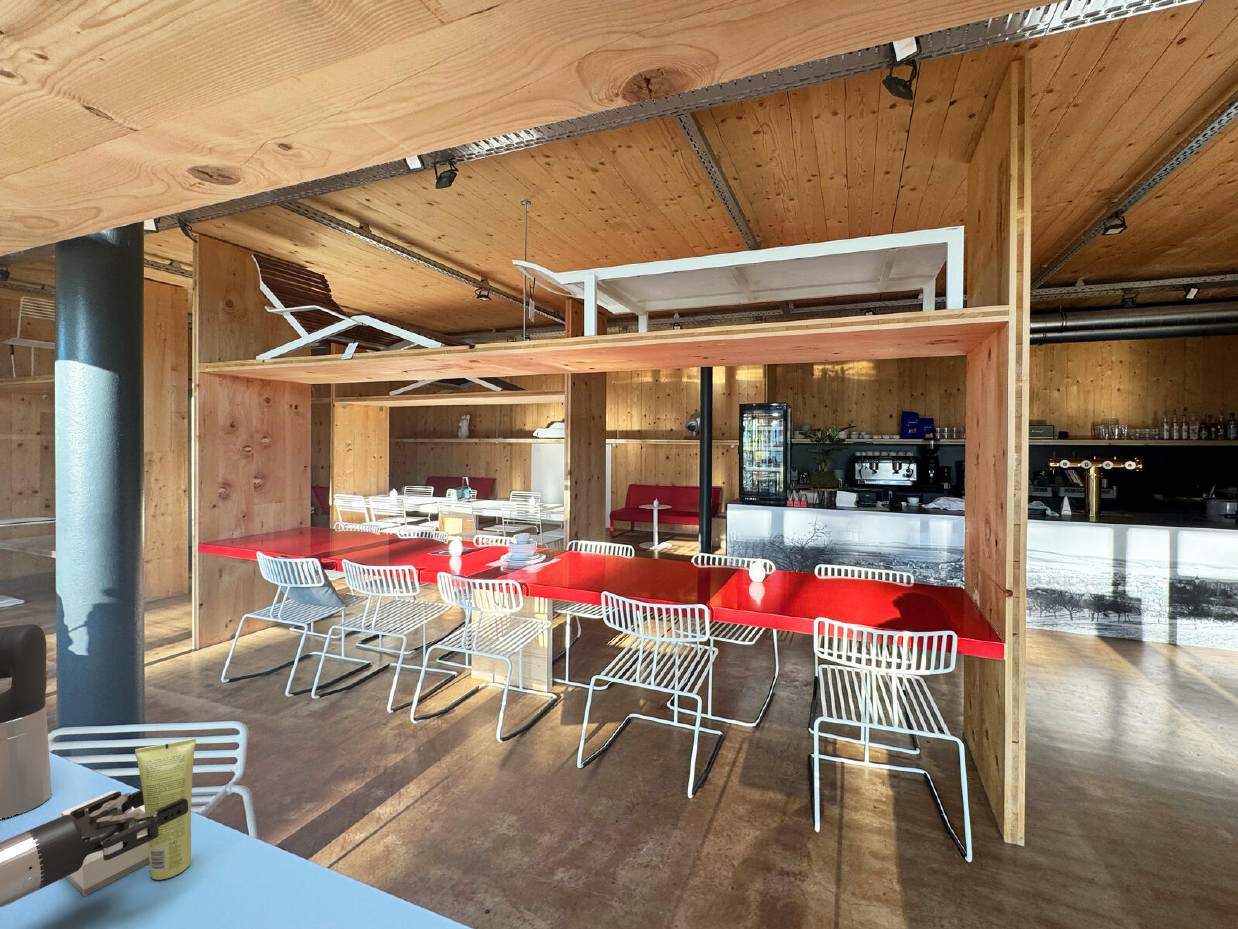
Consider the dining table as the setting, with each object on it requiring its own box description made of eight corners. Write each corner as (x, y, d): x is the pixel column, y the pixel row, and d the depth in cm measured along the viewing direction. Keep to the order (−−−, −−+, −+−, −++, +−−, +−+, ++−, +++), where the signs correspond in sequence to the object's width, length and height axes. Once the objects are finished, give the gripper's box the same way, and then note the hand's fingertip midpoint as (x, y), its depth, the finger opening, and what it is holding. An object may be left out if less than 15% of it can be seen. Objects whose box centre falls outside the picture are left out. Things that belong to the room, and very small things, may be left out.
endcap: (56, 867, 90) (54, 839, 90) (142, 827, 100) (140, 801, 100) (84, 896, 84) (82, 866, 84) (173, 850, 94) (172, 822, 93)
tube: (183, 852, 93) (176, 732, 92) (203, 860, 91) (196, 737, 90) (142, 876, 88) (134, 749, 87) (162, 886, 86) (154, 755, 85)
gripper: (43, 852, 72) (194, 785, 86) (9, 817, 79) (153, 760, 93) (48, 912, 72) (197, 835, 86) (13, 871, 80) (156, 806, 93)
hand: (174, 796), depth 89 cm, fingers open, 8 cm apart
